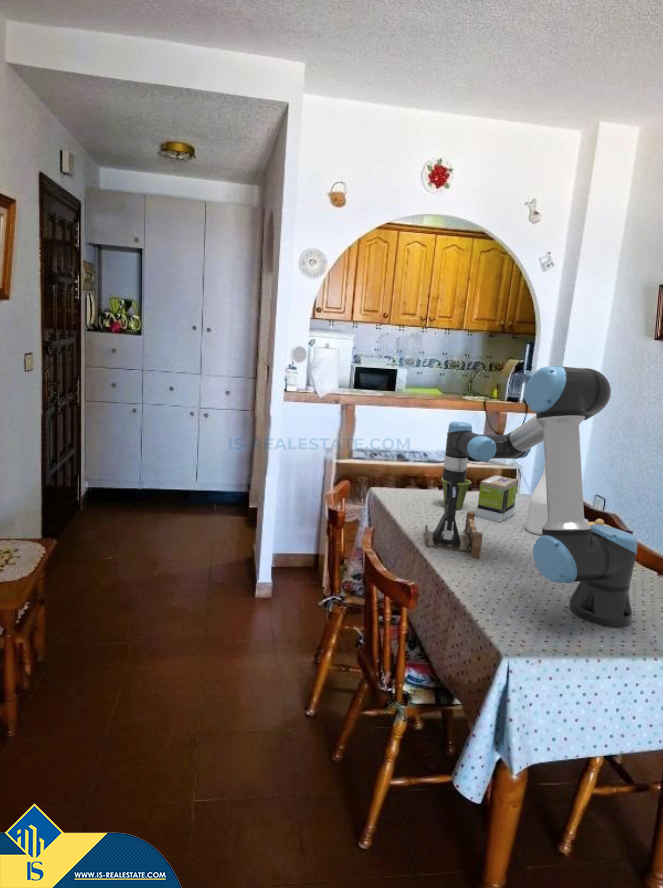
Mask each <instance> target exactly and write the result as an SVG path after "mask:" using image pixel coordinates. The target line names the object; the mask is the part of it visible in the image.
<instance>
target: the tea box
mask: <svg viewBox="0 0 663 888" xmlns="http://www.w3.org/2000/svg"><path fill="white" fill-rule="evenodd" d="M518 480H519V479H515V478H511V477H504V476H501V475H496V474H494V475H492V476H490V477H488V478H485V479H483V480H481V481H480V485H479V492H478V493H479V494H478V500H477V501H478V502H477V509H476V510H477V511H476V518H479V517H480V518H479V519H483V518H484V520H488V521H491V522H496V523H502V522H503V521H505V520H507V519H509V518H510V517H512V516H513V515H514V514H515V507H516V506H515V505H516V497H517V490H518V489H517V488H518V482H519V481H518Z"/></svg>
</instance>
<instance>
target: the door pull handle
mask: <svg viewBox="0 0 663 888" xmlns="http://www.w3.org/2000/svg"><path fill="white" fill-rule="evenodd" d="M475 515H476V514H475V511H467V512H466V518H465V525H464V529H465V530H466V531H467V534H468V538H469V541H470V548H469V550H470V549H471V550H470V553H471V554H470V557H471V559H472V558H474V559H473V560H480V557H481V556H480V555H481V550H482V543H483V532H479V531H477V527H476V525H475Z"/></svg>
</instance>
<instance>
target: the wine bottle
mask: <svg viewBox="0 0 663 888" xmlns="http://www.w3.org/2000/svg"><path fill="white" fill-rule="evenodd" d="M547 521H548V512H547V493H546V473H545V464H544V466H543V472H542V475H541V478H540V479H539V481H538V483H537V484H536V487H535V488H534V491H532V494H531V496H530V499H529V505H528V511H527V518H526V522H525V523H526V524H525V528H526V530H527V531H528V532H529V533H531V534H534V535H538V536H542V527H543V526H544V525H545V524H546V523H547Z"/></svg>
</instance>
